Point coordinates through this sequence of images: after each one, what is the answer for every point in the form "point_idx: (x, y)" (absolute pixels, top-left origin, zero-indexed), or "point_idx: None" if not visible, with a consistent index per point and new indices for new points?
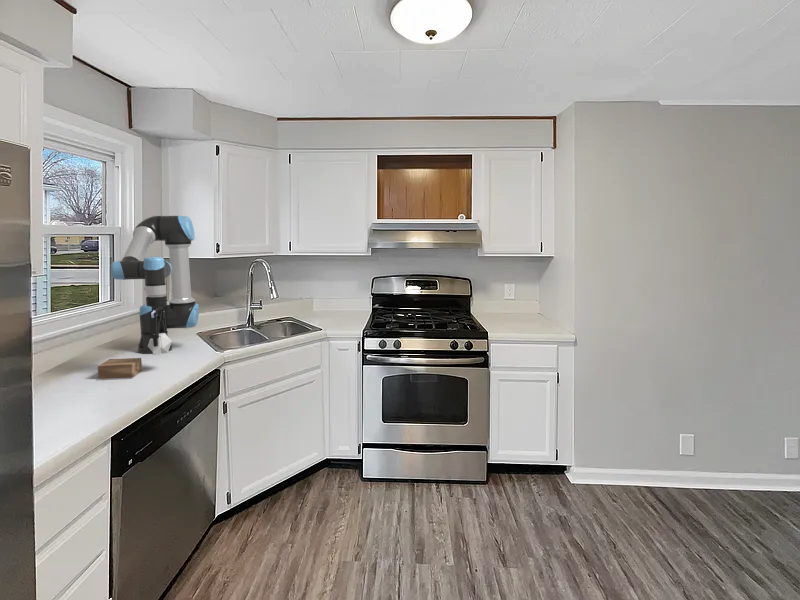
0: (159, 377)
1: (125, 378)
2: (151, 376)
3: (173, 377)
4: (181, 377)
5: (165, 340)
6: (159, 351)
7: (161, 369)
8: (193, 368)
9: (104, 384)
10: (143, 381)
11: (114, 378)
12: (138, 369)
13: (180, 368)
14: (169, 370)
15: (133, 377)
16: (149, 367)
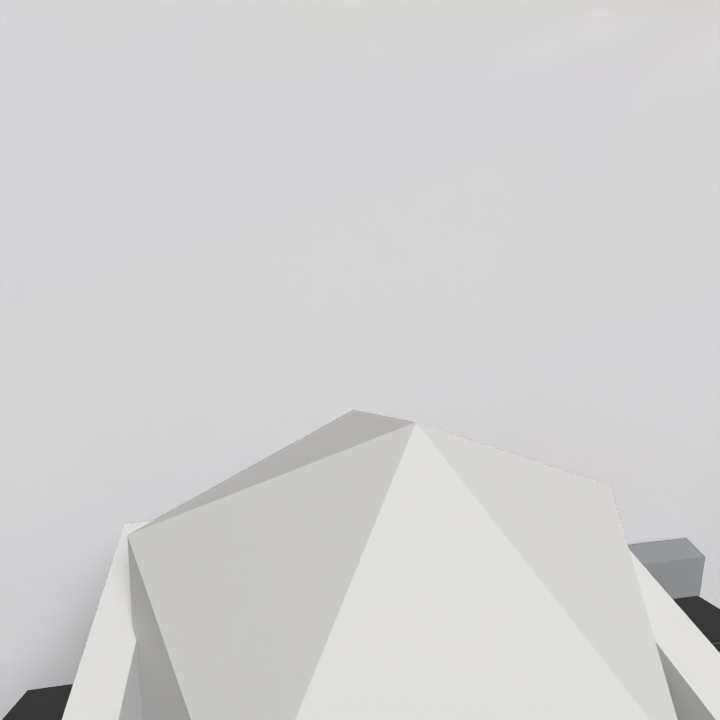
0: (571, 334)
1: None
2: (503, 438)
3: (615, 162)
4: (643, 50)
5: (566, 563)
6: None
7: (162, 450)
8: (124, 10)
9: None
10: (702, 439)
11: None
12: None
13: (116, 220)
14: (227, 334)
15: (656, 563)
16: (48, 619)
